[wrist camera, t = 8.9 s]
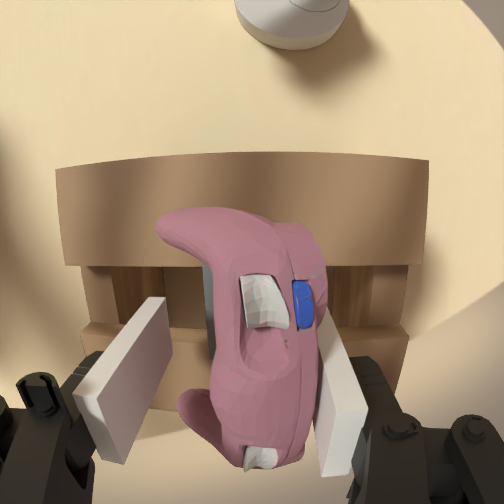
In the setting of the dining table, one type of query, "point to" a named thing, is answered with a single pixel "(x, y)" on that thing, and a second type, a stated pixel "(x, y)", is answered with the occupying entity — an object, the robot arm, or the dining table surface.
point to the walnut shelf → (259, 203)
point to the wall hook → (291, 21)
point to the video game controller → (255, 332)
